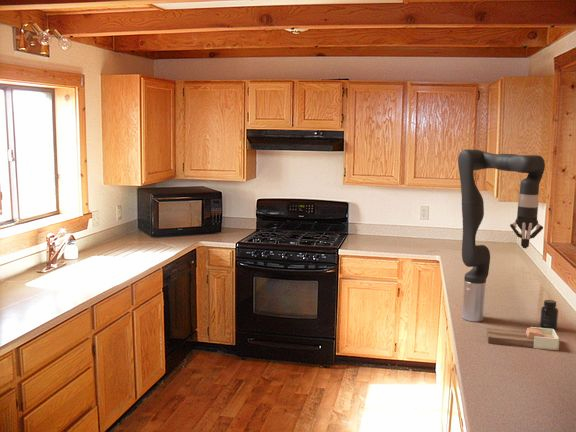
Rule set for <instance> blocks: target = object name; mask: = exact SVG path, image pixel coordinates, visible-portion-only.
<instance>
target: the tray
mask: <svg viewBox="0 0 576 432" xmlns="http://www.w3.org/2000/svg"><path fill="white" fill-rule="evenodd" d="M529 328H532V329H536V330H540V331H541V333H542V334H547V335H553V336H554V338H547V337H536V336H534V339H533V340H534V347H533V349H539V350H549V351H559V348H560V337H559V336H558V334H557V333H556V330H554V329H548V328H541V327H534V326H530V327H529Z"/></svg>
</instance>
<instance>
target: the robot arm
mask: <svg viewBox="0 0 576 432" xmlns="http://www.w3.org/2000/svg"><path fill="white" fill-rule="evenodd" d="M457 166H458V173H459V180H460V190H461V191H460V192H461V193H460V194H461V215H462V217H461V218H462V238H461V239H462V240H461V241H462V242H461V257H462V258H461V260H462V262H463V264H464V265H465V266H466V267H468V268H472V269H470V270H469V271H467V272H466V273H464V279H463V280H464V281H463V296H462V297H463V298H462V307H461V309H462V310H461V318H462V320H465V321H469V322H482V321H484V316H485V315H484V314H485V303H486V302H485V301H486V285H487V278H488V276H489V271H490V264H491V253H490V250H489V248H488V247H487V245H485V244H479V245H478V244H477V245H476V239H477V238H476V237H477V234H478V233H477V232H478V230H479V228H480V225H481V224H482V223H483V219H484V216H485V215H484V214H485V205H484V204H485V203H484V199H483V195H482V193H481V191H480V190H479V188H478V186H477V185H476V181H475V177H474V171H480V170H486V169H495V170H498V171H503V172H515V173H516V172H517V173H522V174H527V176H526V178H524V179H522V180H521V181H520V185H519V195H518V200H517V214H516V219H515V220H514V222H512V223H510V224H509V227H510V228H511V230H512V231H513V232H514V233H515V235H516V237H517V238H519V239H521V240H520V246H521V247H522V249H528V248H529V246H530V240H531V239H534V238H536V236H537V235H538V234H539V233H541V232H542V230H543V229H544V227H543V226H542V225H541V224H539V220H538V210H539V209H538V208H539V199H540V198H539V193H540V191H539V190H540V183H541V181H542V178H543V175H544V172H545V168H546V162H545V159H544V158H543V156H541V155H538V154H532V155H531V154H530V155H529V154H528V155H526V154H525V155H520V154H517V153H516V154H515V153H514V154H513V153H490V152H487V151H484V150H480V149H471V148H470V149H469V148H468V149H462V150H460V152H459V153H458V158H457ZM517 227H518V229H520V232H519V231H518V229H517ZM534 229H535V230H534ZM533 230H534V231H533Z"/></svg>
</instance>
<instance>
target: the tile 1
mask: <svg viewBox="0 0 576 432" xmlns="http://www.w3.org/2000/svg"><path fill="white" fill-rule="evenodd" d="M525 332H526V334H527V336H528V338H532V339H534V336H536V337H542V335H543V334H542V333H541V331H540V330H536V329H532V328H530V327H527V328H526V331H525Z"/></svg>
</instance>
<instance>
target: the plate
mask: <svg viewBox="0 0 576 432" xmlns="http://www.w3.org/2000/svg"><path fill="white" fill-rule="evenodd" d="M485 334H486V339H487V343H488V344H494V345H504V346H512V347H513V346H514V347H525V348H533V347H534V340H533V339H532V338H528V336H527V334H526V331H519V330H512V329H511V330H509V329H508V330H507V329H499V328H498V329H497V328H487V327H486V331H485ZM533 349H534V348H533Z"/></svg>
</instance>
